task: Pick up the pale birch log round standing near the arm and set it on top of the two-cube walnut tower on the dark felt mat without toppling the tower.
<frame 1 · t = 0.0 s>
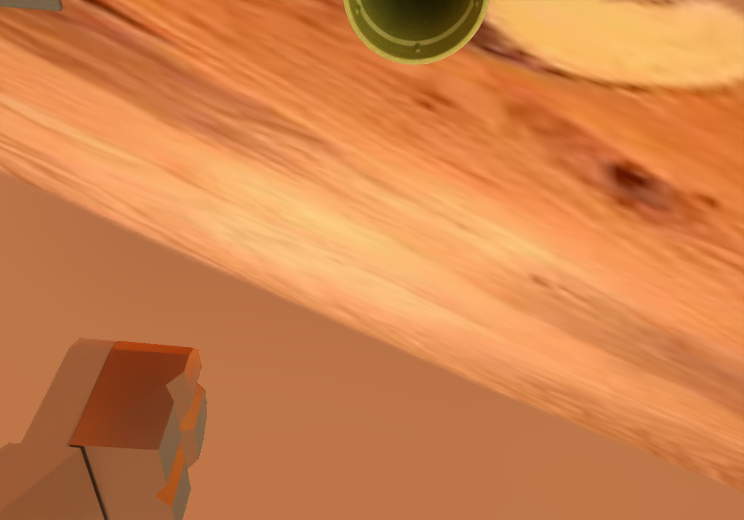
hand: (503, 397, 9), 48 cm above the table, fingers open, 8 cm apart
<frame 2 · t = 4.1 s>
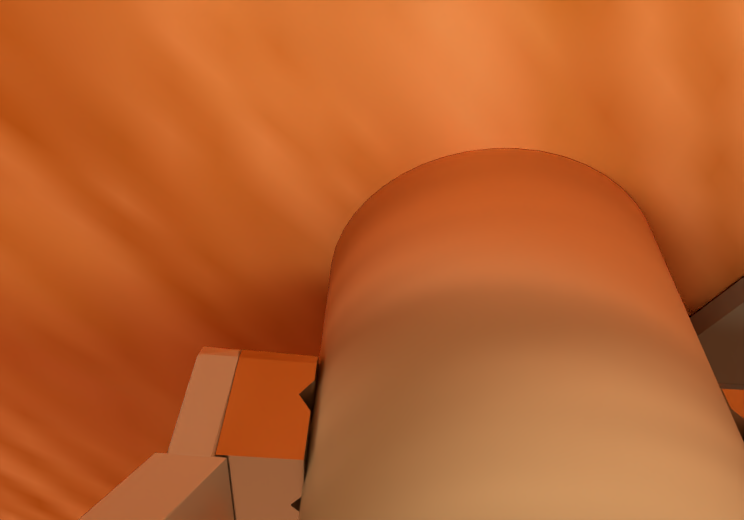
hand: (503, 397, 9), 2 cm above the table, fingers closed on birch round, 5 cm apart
birch round: (489, 287, 11), on the table, touching gripper
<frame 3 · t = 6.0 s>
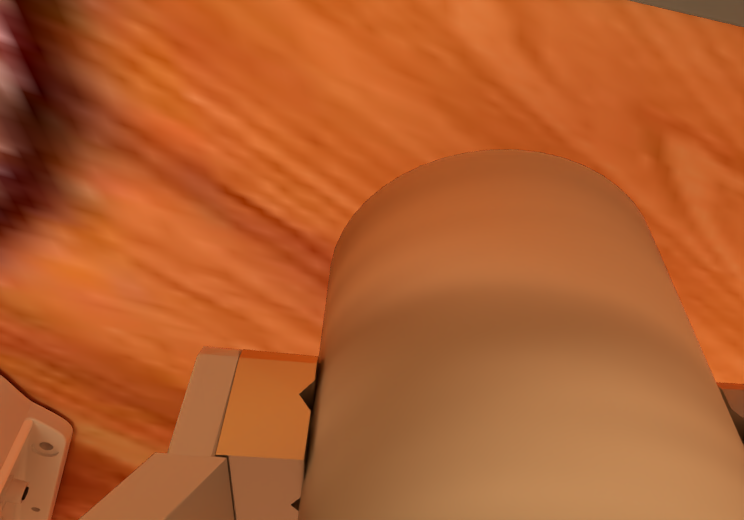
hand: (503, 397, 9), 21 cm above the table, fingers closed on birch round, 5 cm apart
birch round: (489, 288, 11), point 19 cm above the table, touching gripper
when the fingers open (15 cm above the table, at t = 8.2 s): birch round stays where it is, resting on tower top.
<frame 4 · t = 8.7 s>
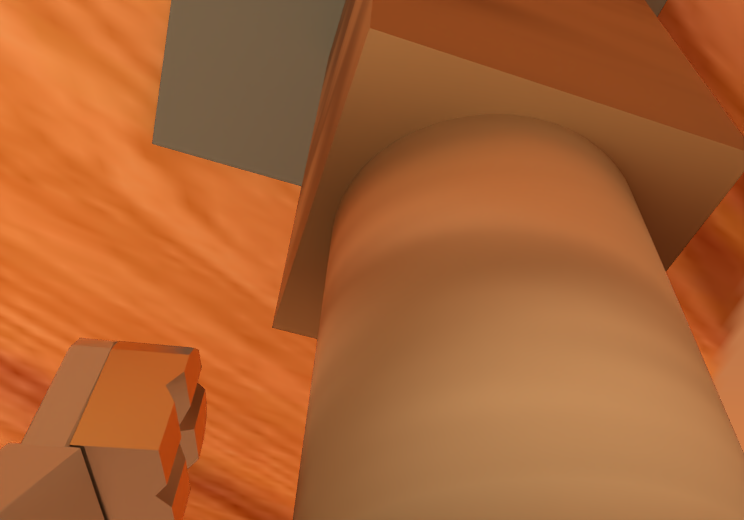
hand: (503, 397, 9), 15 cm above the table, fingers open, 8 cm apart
tower top: (464, 88, 16), point 6 cm above the table, touching birch round, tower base
felt mat: (398, 43, 22), on the table
birch round: (481, 249, 12), point 12 cm above the table, touching tower top
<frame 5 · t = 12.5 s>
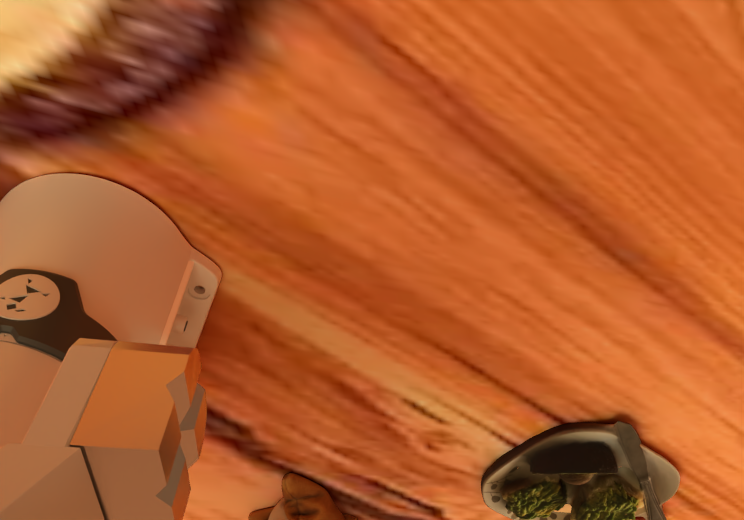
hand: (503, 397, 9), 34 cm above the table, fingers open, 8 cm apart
salad plate: (575, 469, 69), on the table
stuffed squirrel: (315, 510, 75), on the table
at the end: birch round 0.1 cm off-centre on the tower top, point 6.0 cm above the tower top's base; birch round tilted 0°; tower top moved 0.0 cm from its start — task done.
